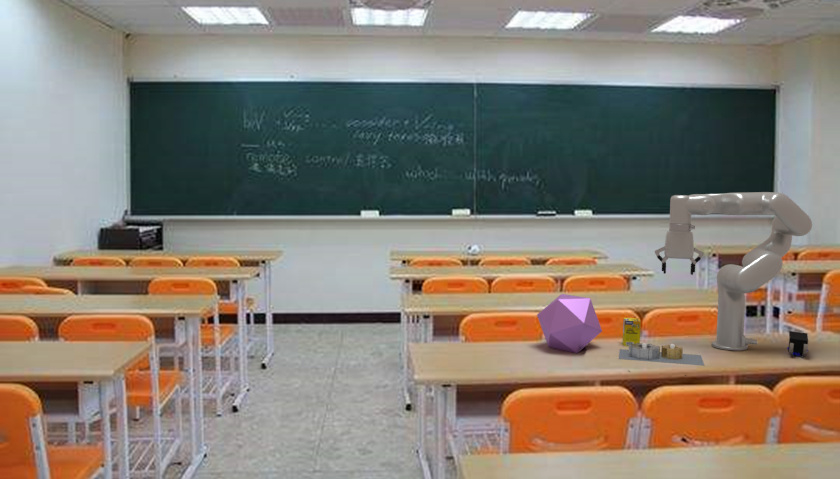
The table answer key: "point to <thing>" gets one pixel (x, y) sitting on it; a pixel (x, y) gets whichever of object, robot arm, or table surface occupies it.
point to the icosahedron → (569, 323)
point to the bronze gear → (672, 352)
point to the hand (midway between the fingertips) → (678, 273)
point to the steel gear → (644, 351)
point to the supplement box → (631, 331)
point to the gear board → (685, 359)
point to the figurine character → (798, 343)
